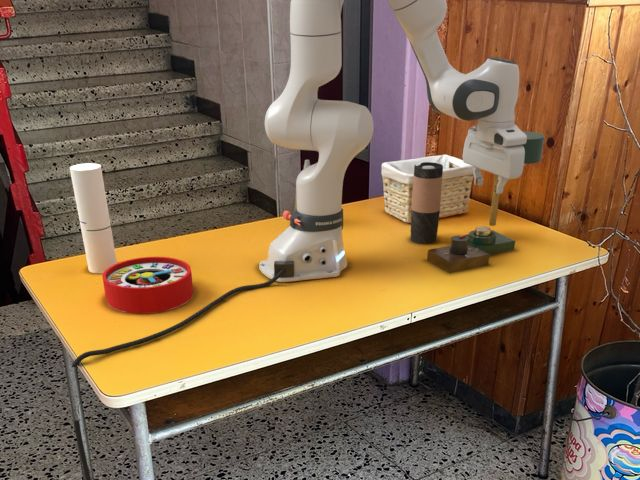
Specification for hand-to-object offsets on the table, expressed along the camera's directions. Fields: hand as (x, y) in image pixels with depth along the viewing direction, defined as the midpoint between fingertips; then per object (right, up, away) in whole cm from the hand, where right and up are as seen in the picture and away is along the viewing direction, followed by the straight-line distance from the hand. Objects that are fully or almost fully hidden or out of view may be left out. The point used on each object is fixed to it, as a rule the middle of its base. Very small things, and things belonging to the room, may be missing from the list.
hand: (488, 188), depth 187 cm
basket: (-11, +4, +37) cm, 39 cm away
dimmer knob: (-8, -16, -1) cm, 18 cm away
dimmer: (-8, -19, +1) cm, 20 cm away
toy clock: (-83, -30, -15) cm, 89 cm away
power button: (0, -10, +7) cm, 12 cm away
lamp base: (+1, -13, +10) cm, 16 cm away
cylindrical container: (-98, -20, 0) cm, 100 cm away
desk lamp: (+9, -4, +15) cm, 18 cm away
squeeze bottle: (-46, -1, +29) cm, 55 cm away
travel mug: (-14, -9, +16) cm, 23 cm away
